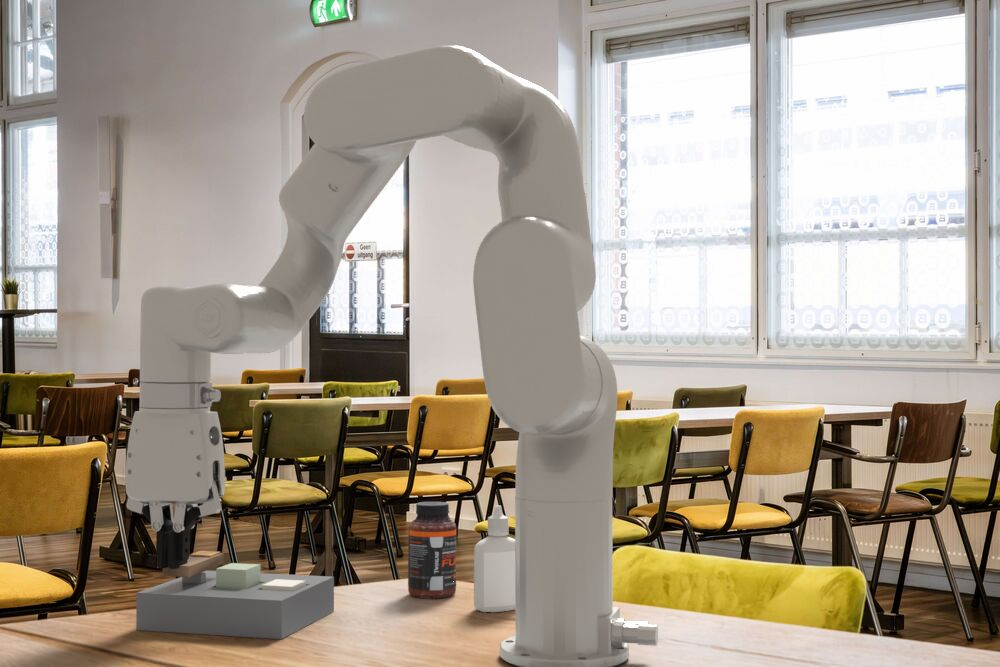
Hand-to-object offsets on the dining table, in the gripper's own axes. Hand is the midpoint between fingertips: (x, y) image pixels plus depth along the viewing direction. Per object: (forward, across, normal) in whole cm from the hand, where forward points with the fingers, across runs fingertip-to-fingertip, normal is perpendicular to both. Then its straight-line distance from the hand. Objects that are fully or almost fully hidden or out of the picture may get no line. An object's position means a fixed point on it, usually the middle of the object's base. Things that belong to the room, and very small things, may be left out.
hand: (172, 566), depth 133 cm
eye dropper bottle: (+6, -33, -16) cm, 37 cm away
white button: (+5, -12, -4) cm, 13 cm away
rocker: (0, 0, -4) cm, 4 cm away
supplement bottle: (+6, -23, -23) cm, 33 cm away
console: (+6, -6, -4) cm, 10 cm away
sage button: (+4, -6, -4) cm, 8 cm away
